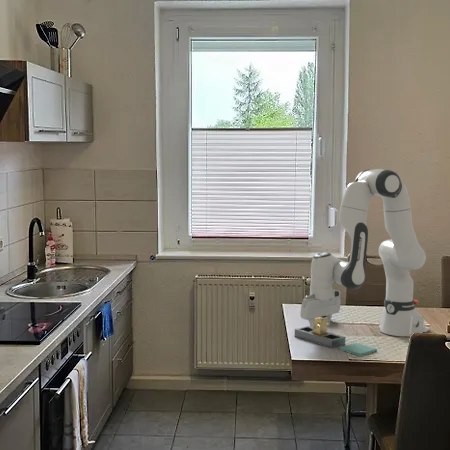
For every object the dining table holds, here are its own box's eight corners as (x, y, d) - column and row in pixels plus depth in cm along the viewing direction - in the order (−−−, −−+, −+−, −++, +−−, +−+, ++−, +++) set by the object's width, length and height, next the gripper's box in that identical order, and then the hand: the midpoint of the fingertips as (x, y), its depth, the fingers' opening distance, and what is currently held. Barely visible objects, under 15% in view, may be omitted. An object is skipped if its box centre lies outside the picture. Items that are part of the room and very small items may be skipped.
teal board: (356, 345, 254) (356, 342, 254) (376, 351, 247) (376, 348, 247) (339, 349, 248) (339, 347, 248) (360, 356, 240) (360, 353, 240)
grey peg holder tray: (307, 333, 270) (308, 326, 270) (345, 344, 255) (345, 337, 254) (294, 336, 265) (294, 329, 264) (331, 348, 250) (332, 340, 249)
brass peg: (318, 338, 263) (319, 316, 261) (326, 340, 260) (327, 318, 258) (312, 340, 260) (313, 318, 259) (319, 342, 257) (320, 320, 256)
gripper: (309, 298, 248) (308, 332, 250) (343, 291, 262) (342, 324, 263) (297, 295, 253) (296, 329, 255) (331, 288, 266) (330, 321, 268)
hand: (319, 326), depth 259 cm, fingers open, 7 cm apart
